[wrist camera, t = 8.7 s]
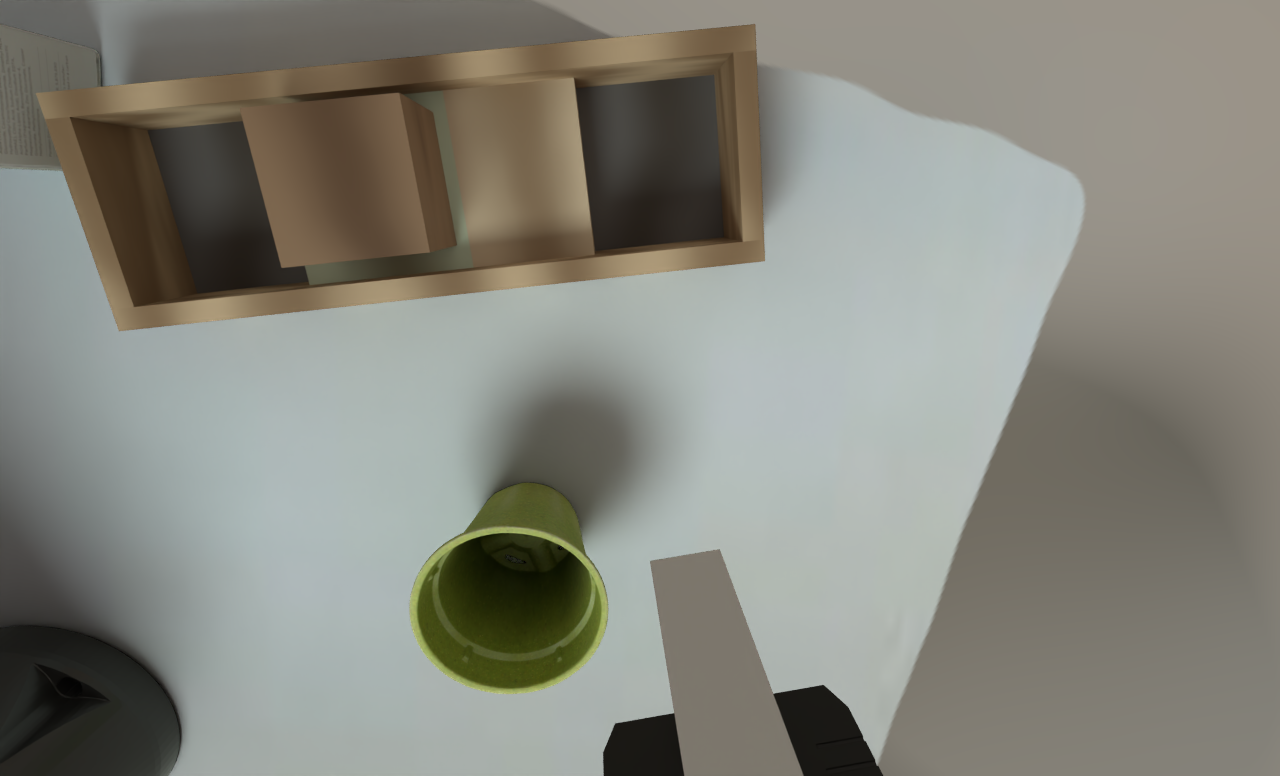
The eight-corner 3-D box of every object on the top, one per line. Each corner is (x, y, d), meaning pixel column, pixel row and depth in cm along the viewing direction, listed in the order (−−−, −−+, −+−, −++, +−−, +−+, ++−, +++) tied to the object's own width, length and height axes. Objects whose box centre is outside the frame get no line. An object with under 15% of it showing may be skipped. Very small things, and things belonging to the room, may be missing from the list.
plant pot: (478, 433, 36) (441, 501, 28) (628, 483, 37) (636, 562, 29) (432, 566, 38) (385, 665, 30) (575, 608, 40) (569, 714, 31)
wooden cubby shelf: (189, 313, 33) (119, 331, 28) (125, 111, 30) (35, 92, 25) (741, 253, 34) (764, 261, 29) (731, 52, 31) (755, 24, 26)
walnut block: (332, 258, 30) (281, 267, 25) (300, 125, 28) (239, 108, 23) (457, 245, 30) (429, 252, 25) (433, 112, 28) (399, 92, 23)
